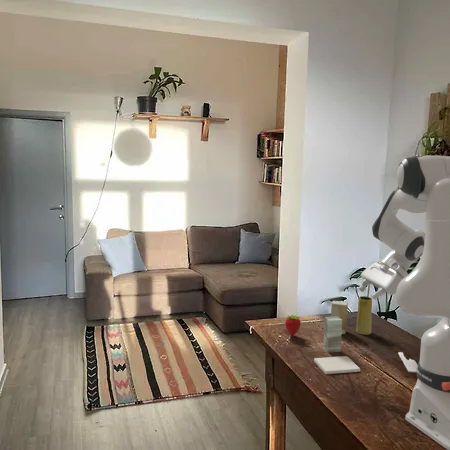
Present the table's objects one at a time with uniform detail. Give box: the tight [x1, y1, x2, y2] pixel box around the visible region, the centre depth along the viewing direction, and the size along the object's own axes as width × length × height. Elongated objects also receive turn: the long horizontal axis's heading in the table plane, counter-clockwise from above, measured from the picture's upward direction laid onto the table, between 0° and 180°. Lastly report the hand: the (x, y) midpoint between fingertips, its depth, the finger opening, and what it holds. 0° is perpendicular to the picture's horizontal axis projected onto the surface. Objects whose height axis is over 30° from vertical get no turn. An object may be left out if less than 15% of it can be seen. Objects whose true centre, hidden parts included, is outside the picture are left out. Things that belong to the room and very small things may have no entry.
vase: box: [355, 295, 373, 336], centre depth 183 cm, size 6×6×14 cm
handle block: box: [322, 316, 343, 354], centre depth 165 cm, size 4×5×12 cm
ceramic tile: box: [313, 355, 361, 375], centre depth 152 cm, size 10×12×1 cm
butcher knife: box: [397, 351, 418, 373], centre depth 156 cm, size 5×15×1 cm, turn 171°
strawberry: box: [285, 313, 302, 338], centre depth 178 cm, size 6×8×10 cm
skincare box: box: [330, 300, 349, 335], centre depth 183 cm, size 6×4×12 cm
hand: (366, 294), depth 166 cm, fingers open, 8 cm apart
